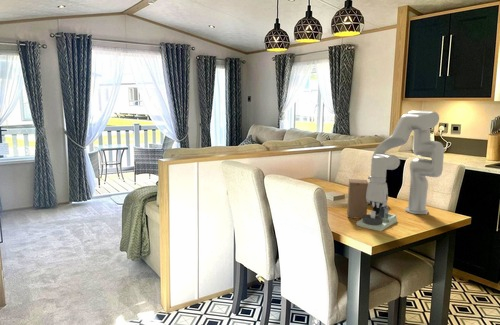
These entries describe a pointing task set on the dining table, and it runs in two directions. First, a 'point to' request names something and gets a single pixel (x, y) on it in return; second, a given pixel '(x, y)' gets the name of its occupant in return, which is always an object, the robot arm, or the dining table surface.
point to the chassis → (384, 225)
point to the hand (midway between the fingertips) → (376, 214)
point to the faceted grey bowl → (372, 220)
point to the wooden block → (357, 198)
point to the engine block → (383, 211)
